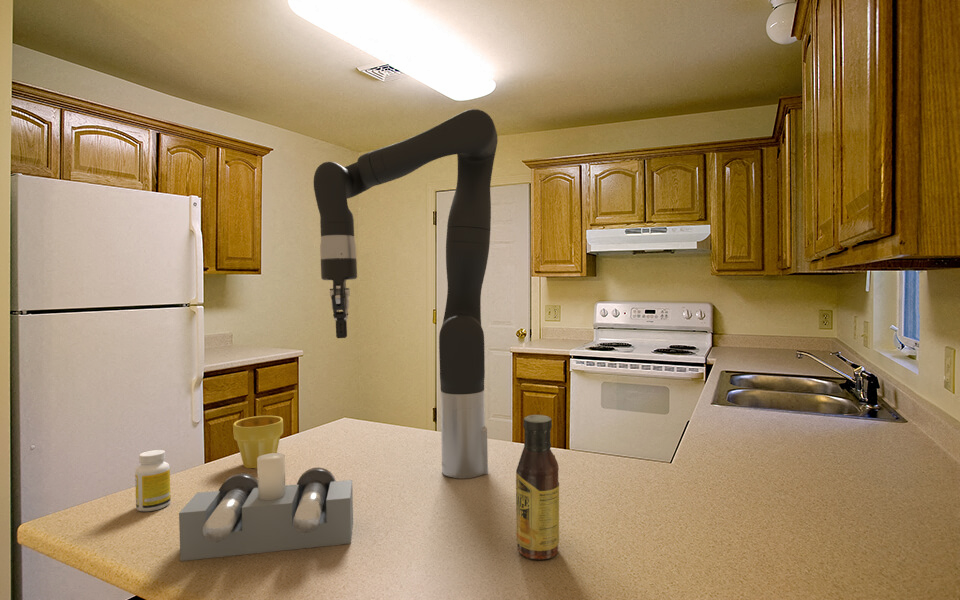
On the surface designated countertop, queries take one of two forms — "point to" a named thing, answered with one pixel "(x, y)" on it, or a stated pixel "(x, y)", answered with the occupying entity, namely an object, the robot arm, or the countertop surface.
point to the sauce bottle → (537, 492)
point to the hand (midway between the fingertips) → (341, 337)
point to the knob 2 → (311, 498)
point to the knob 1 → (229, 506)
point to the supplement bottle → (152, 481)
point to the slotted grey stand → (266, 524)
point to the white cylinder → (271, 476)
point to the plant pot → (257, 437)
